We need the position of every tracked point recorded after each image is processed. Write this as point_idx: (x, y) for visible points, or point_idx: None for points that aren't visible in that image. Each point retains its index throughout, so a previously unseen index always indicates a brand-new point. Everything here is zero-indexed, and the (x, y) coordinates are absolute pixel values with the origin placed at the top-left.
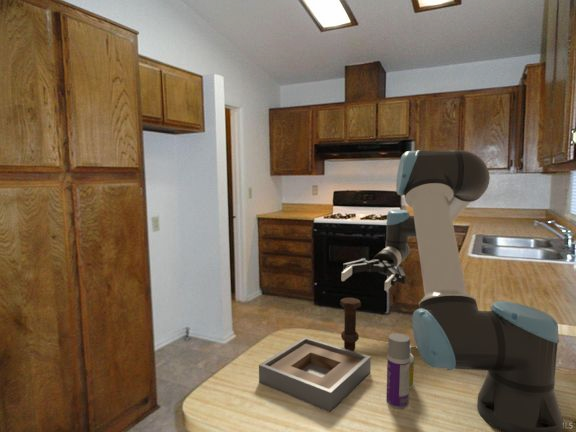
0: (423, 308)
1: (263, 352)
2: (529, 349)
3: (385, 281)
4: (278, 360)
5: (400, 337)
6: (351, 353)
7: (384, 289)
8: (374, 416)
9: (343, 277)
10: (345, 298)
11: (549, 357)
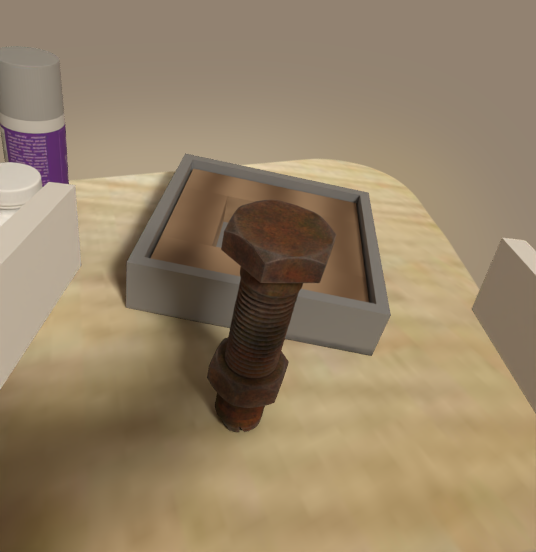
0: None
1: (462, 319)
2: None
3: (68, 186)
4: (357, 225)
5: (21, 55)
6: (194, 268)
7: (79, 256)
8: (96, 195)
9: (487, 278)
10: (323, 242)
11: None
